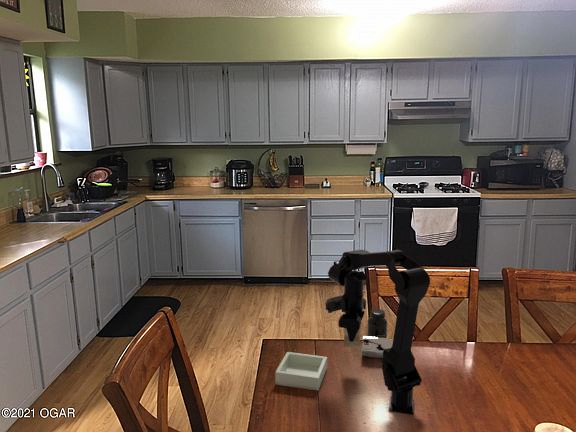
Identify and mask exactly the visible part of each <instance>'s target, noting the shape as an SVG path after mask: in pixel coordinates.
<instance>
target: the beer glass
mask: <svg viewBox="0 0 576 432" xmlns="http://www.w3.org/2000/svg"><path fill="white" fill-rule="evenodd" d="M392 344H393V338H388V337H387V338H384V337H380V336H367V334H366V335H364V334H363V335H362V344H361V356H364V357H367V358H374V359H375V358H377V359H383V351H384V350H385V349H388V348H391V347H392Z"/></svg>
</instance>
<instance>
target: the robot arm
mask: <svg viewBox="0 0 576 432" xmlns="http://www.w3.org/2000/svg"><path fill="white" fill-rule="evenodd" d="M399 265H400V267H401V268H403V269H404V270H400V271H399V270H398V268H397V267H396V266H399ZM379 266H380V267H382V266H385V267H386V268H387V270H388V277H389V279H390V281H392V283H393V284H394V291H395V293H396V295H397V297H398V306H397V314H396V319H395V324H394V325H395V326H394V331H393V332H394V333H393V338H392V340H393V344H392V347H391V348H388V349H385V350H384V351H383V358H381V359H382V360H381V361H380V363H382V365H381V372H382V376H383V382H384V385H385V386H386V387H387V390H388V391H389V392H391V393H390V394H391V395H390V397H389V401H388V403H389V406H388V411H391V412H397V413H404V414H411V415H414V411H415V409H414V408H415V400H414V399H413V398H414V388H415V387H420V386H421V384H422V382H423V379H422V377H421V374H420V373H419V371H418V368H417V367H416V357H415V356H414V354H413V351H412V345H413V340H414V333H415V328H416V321H417V317H418V310H419V304H420V303H421V301H423V298H425V296H426V295H427V293H428V290H429V287H430V285H431V284H430V283H431V278H430V275H429V273H428V272H427V271H426V270H425V268H423V266H422V265H421V264H420V263H419V262H418V261H416V260H414V259H412V258H410V256H408V255H407V254H406V253H405V252H404V251H403V250H401V249H395V250H388V251H386V250H385V251H377V252H375V251H374V252H373V251H372V252H369V250H366V249H358V250H357V249H356V250H350V251H344V252H343V253H342V256H341V258H340V259H339V260H335V261H333V264H332V266H330V268H329V270H328V272H327V276H328V278H329V280H330V281H332V282H334V283H336V284H338V285H340V286H342V287H343V288H344V290H343V294H342V295H337V296H333V297H330V298H327V299H326V301H325V303H324V304H325V310H326V311H327V312H328V314H332V313H333V312H337V311H341V313H343V314H341V315H340V317H339V319H338V325H337V327H338V328H341V329H344V328H346V329H347V333H348V337H349V341H350V342H353V341H354V339H355V336H356V334H357V332H358V330H359V329H360V326H362V320H363V317H364V316H365V310H366V309H367V300H366V299H365V298H364V295H365V291H364V281H367V280H368V279H369V277H368V276H367V274H365V273H364V270H363V271H359V270H362V269H366V268H368V267H379Z"/></svg>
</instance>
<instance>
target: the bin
mask: <svg viewBox="0 0 576 432" xmlns="http://www.w3.org/2000/svg"><path fill="white" fill-rule="evenodd" d="M327 370H328V357H327V356H322V355H315V354H307V353H306V354H305V353H300V352H299V353H298V352H291V351H287V352H286V353H285V355H284V357H283V359H282V360H281V362H279V366H278V367H277V368H276V370H275V375H274V376H275V377H274V378H275V385H277V386H284V387H291V388H298V389H304V390H312V391H319V390H320V388H321V386H322V383H323V380H324V378H325V374H326V372H327Z"/></svg>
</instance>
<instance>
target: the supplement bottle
mask: <svg viewBox="0 0 576 432" xmlns="http://www.w3.org/2000/svg"><path fill="white" fill-rule="evenodd" d="M385 317H386V311H385V310H383V309H380V308H374V309H371V310H370V317H369V318H368V319H367V327H366V328H367V329H366V336H380V337H384V338H388V320H387V319H386V318H385Z"/></svg>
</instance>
